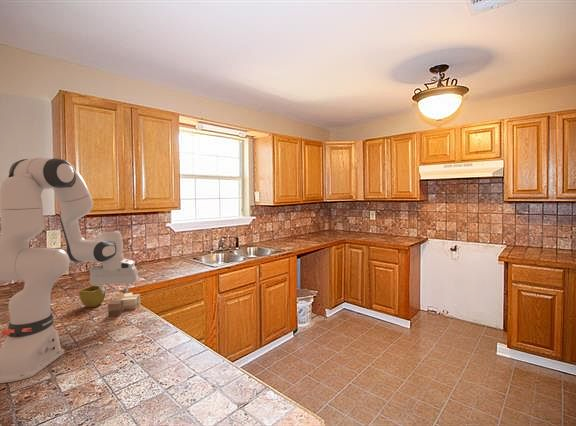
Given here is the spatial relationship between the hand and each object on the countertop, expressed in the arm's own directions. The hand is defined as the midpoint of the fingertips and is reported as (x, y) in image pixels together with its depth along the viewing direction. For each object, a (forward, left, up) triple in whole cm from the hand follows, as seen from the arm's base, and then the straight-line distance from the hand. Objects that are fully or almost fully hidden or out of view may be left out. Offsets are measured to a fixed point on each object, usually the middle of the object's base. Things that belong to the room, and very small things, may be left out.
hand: (115, 292), depth 145 cm
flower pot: (+15, +16, -11) cm, 24 cm away
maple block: (+9, -4, -11) cm, 14 cm away
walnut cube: (0, 0, -11) cm, 11 cm away
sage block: (+17, 0, -11) cm, 20 cm away
